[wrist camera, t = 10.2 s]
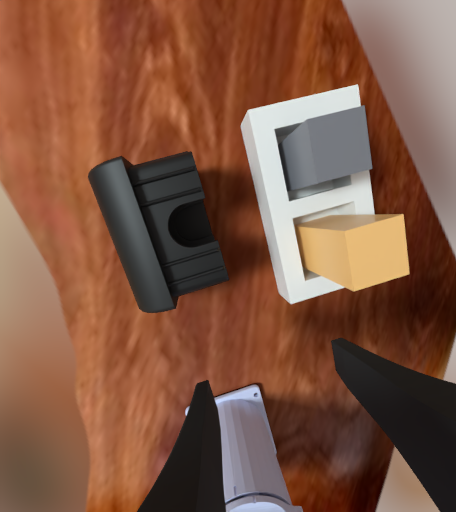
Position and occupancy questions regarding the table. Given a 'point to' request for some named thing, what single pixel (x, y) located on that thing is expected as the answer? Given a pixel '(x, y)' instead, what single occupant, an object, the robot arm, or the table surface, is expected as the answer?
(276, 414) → the table surface
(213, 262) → the end cap
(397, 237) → the tan rectangular block
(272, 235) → the socket strip
